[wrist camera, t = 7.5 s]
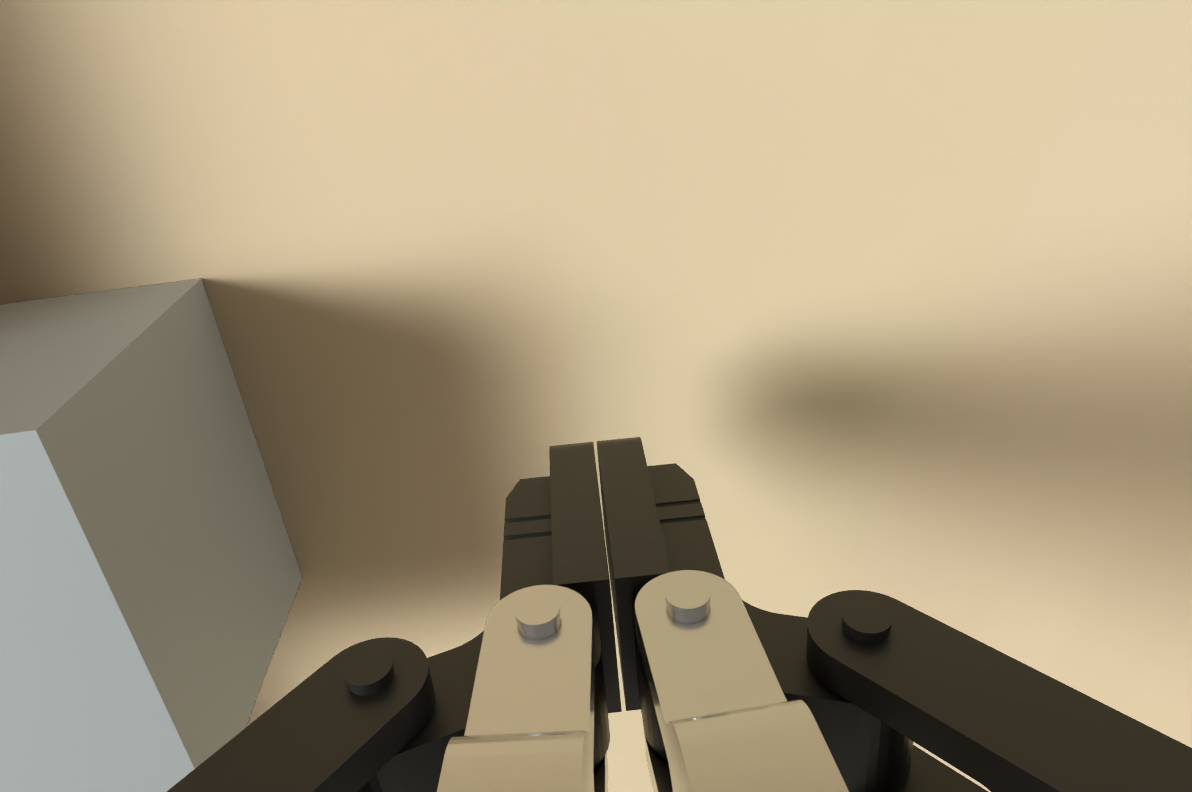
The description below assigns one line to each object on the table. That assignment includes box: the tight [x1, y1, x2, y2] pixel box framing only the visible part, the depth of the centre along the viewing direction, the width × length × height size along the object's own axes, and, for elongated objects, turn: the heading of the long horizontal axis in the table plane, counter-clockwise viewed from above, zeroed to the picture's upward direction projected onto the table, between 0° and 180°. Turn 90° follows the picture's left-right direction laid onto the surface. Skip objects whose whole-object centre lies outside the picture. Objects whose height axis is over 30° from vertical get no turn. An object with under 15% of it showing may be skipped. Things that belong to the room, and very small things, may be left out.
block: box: [0, 278, 302, 792], centre depth 15 cm, size 7×7×6 cm
